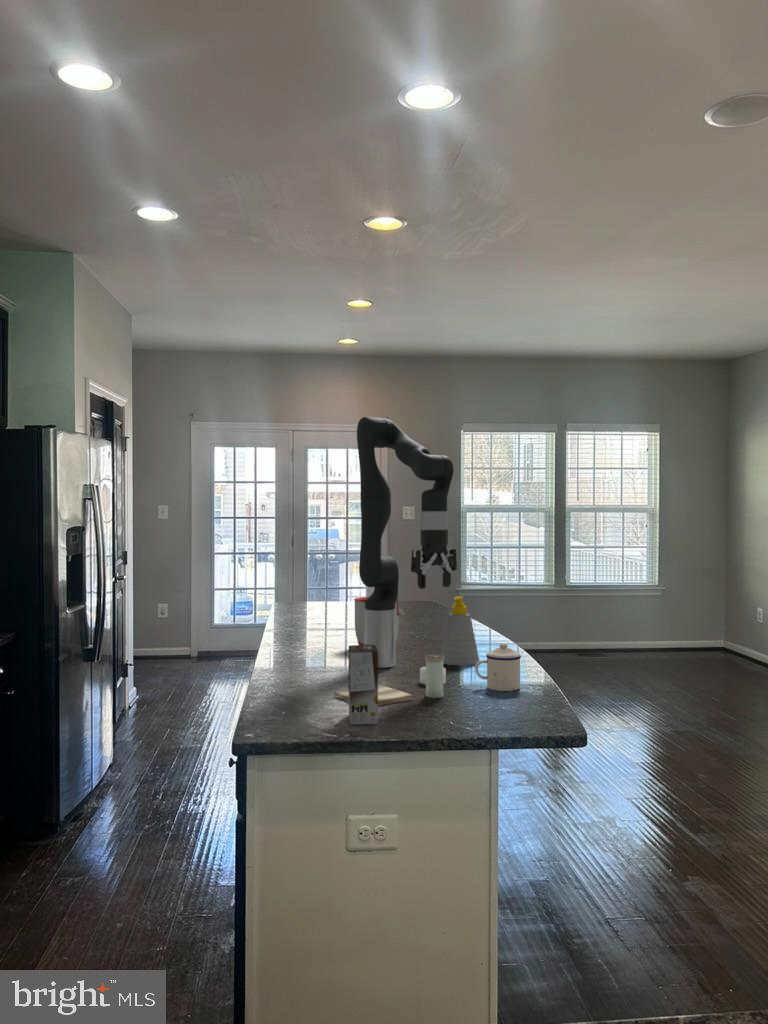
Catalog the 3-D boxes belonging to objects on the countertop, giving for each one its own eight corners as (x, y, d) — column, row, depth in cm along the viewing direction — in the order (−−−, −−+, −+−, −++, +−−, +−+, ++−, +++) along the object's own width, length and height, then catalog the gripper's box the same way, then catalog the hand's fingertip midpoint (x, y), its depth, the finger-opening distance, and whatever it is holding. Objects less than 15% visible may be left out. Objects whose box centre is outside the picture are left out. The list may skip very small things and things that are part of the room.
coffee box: (378, 724, 169) (378, 651, 169) (349, 725, 168) (349, 651, 168) (375, 713, 178) (375, 644, 178) (348, 714, 178) (347, 644, 178)
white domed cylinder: (414, 682, 211) (414, 668, 211) (434, 679, 215) (434, 665, 215) (430, 687, 205) (430, 672, 205) (451, 684, 209) (450, 669, 209)
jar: (421, 695, 196) (421, 656, 196) (436, 692, 199) (436, 653, 199) (433, 699, 192) (433, 658, 192) (448, 696, 195) (448, 656, 195)
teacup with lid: (518, 684, 208) (517, 641, 208) (523, 692, 199) (523, 646, 199) (473, 684, 208) (473, 641, 208) (477, 692, 199) (477, 647, 199)
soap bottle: (434, 664, 236) (433, 597, 236) (446, 657, 247) (446, 593, 248) (473, 667, 231) (473, 599, 231) (484, 660, 243) (484, 595, 243)
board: (334, 696, 195) (334, 692, 195) (380, 689, 203) (380, 684, 203) (365, 708, 183) (365, 703, 183) (412, 699, 191) (412, 694, 191)
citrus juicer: (405, 652, 257) (404, 592, 257) (352, 652, 257) (352, 592, 257) (404, 644, 272) (404, 587, 272) (355, 644, 272) (354, 587, 273)
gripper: (445, 527, 218) (445, 585, 218) (405, 528, 209) (405, 588, 209) (463, 528, 212) (463, 587, 212) (422, 528, 203) (422, 590, 203)
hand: (434, 587), depth 210 cm, fingers open, 8 cm apart
